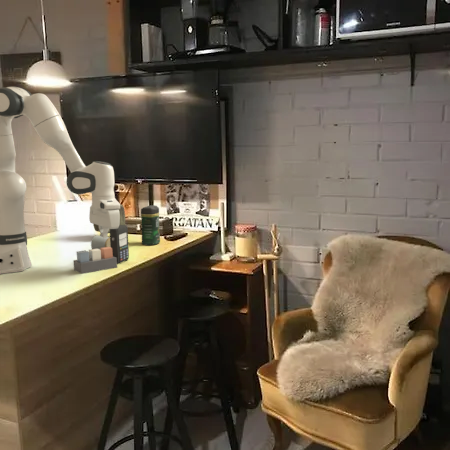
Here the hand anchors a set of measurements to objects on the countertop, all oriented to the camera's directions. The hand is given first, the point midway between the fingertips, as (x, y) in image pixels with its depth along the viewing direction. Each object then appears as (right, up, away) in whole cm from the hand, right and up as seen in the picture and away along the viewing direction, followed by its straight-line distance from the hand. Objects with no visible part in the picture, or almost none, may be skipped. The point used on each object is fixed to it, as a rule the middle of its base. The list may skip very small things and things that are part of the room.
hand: (104, 237), depth 221 cm
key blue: (-7, -11, -4) cm, 14 cm away
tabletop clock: (-10, -2, +60) cm, 61 cm away
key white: (-3, -11, -1) cm, 11 cm away
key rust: (+1, -10, +2) cm, 10 cm away
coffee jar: (+13, -4, +46) cm, 48 cm away
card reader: (+5, -11, +10) cm, 16 cm away
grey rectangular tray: (-3, -13, -1) cm, 13 cm away
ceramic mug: (-6, -8, +30) cm, 31 cm away
